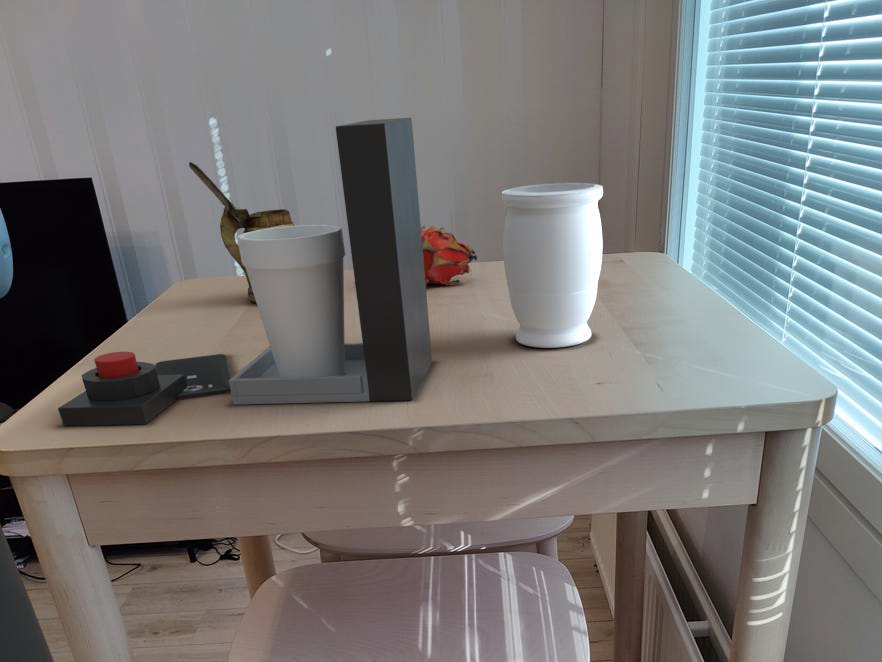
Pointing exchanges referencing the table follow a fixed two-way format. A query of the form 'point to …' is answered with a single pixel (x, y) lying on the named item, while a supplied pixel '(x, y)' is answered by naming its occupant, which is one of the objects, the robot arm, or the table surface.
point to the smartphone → (199, 374)
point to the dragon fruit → (444, 256)
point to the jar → (553, 260)
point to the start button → (116, 364)
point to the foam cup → (299, 295)
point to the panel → (122, 398)
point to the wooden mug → (242, 221)
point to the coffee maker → (369, 280)
